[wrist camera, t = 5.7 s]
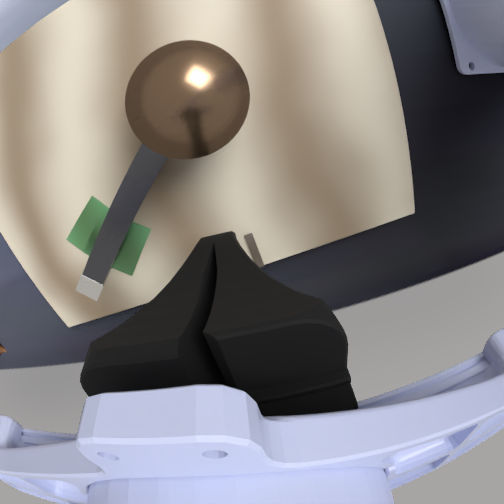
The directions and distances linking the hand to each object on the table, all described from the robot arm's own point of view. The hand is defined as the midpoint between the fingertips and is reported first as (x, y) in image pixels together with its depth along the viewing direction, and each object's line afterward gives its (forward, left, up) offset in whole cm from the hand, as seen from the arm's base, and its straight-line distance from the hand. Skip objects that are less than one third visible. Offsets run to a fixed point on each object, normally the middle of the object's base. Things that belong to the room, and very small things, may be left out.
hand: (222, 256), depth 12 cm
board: (+1, -5, -4) cm, 7 cm away
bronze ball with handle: (+2, -4, -3) cm, 5 cm away
